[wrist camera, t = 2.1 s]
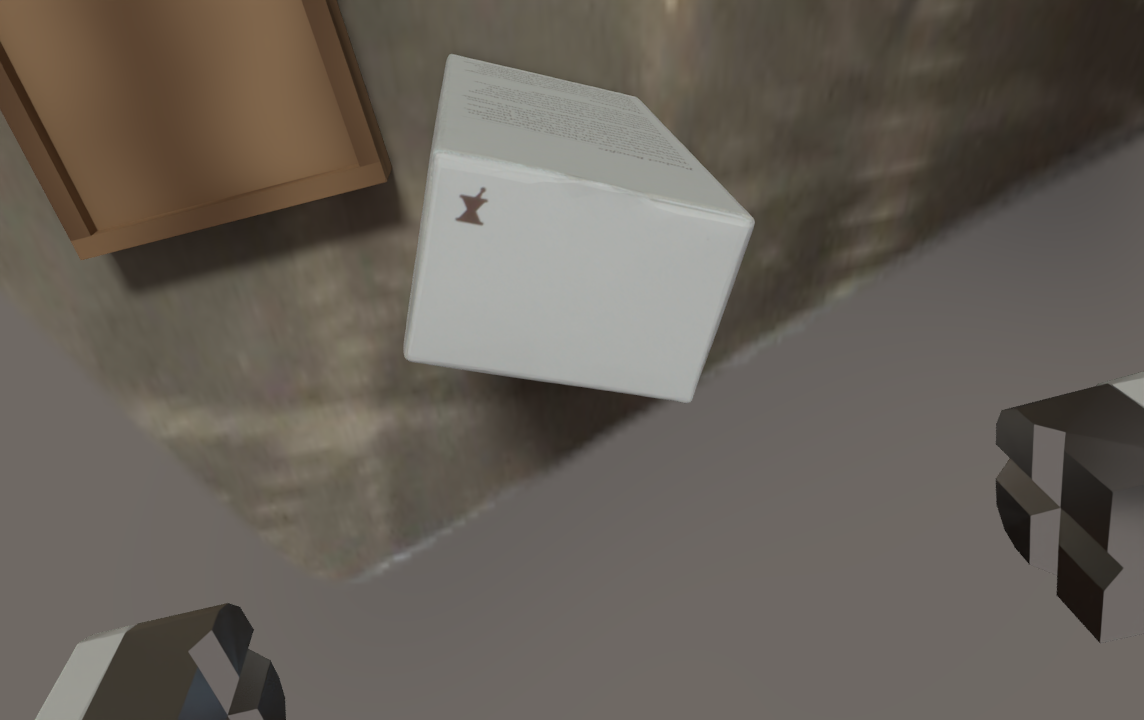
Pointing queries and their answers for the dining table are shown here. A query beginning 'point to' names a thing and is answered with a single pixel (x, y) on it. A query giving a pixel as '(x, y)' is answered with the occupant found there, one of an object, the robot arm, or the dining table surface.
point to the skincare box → (568, 238)
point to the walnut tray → (184, 112)
